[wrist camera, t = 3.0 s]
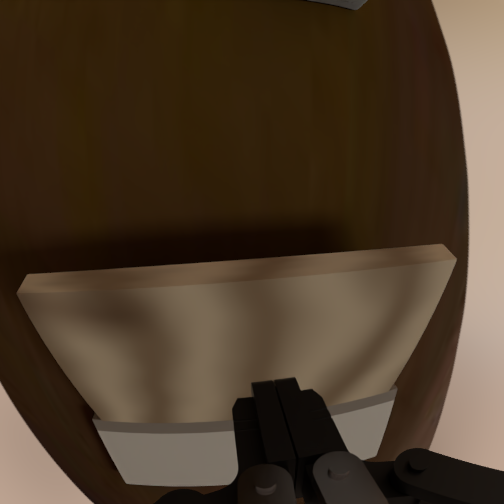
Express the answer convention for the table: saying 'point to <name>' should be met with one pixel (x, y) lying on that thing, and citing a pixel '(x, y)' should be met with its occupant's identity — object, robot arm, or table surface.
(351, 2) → the supplement box
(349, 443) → the grey board
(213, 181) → the table surface
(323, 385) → the oak plank
